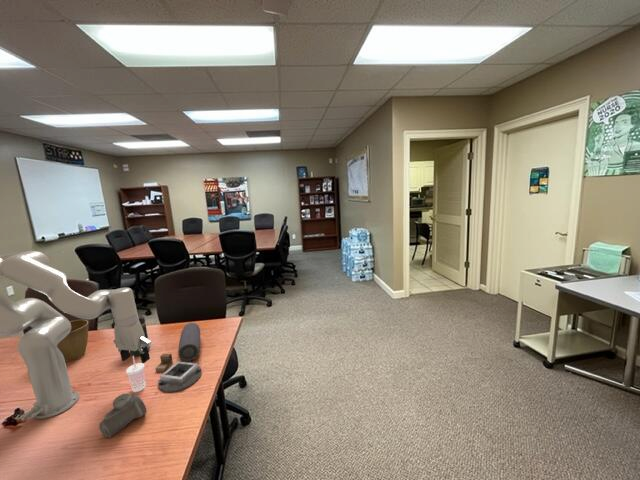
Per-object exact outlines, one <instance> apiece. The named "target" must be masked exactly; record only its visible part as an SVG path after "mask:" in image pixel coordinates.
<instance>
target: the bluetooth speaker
mask: <svg viewBox="0 0 640 480" xmlns="http://www.w3.org/2000/svg"><path fill="white" fill-rule="evenodd" d="M201 338H202V337H201V328H200V326H199V324H197V323H196V322H189V323H187V324H185V325H184V327H182V330H181V333H180V337H179V342H178V349H177V351H178V352H177V353H178V358H179V359H180V360H181V361H182V362H190V361H193V360H194V359H196V358H197V356H198V354H199V352H200V346H201Z"/></svg>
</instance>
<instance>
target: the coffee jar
mask: <svg viewBox="0 0 640 480" xmlns="http://www.w3.org/2000/svg"><path fill="white" fill-rule="evenodd" d="M138 318H139V321H140V323H141V326H142V328H143V331H144V334H145V338H146V339H147V340H149V336H148V329H147V324H146V319H145V317H144V316H143V315H141V314H138ZM141 348H142V350H143V349H144V347H141ZM150 349H151V347H150V348H149V350H148V352H149V351H150ZM129 352H130V355H131V356H134V357H135V356H140V354H141V353H140V352H139V350H138V349H137V350H136V351H130V350H129Z"/></svg>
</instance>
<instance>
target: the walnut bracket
mask: <svg viewBox="0 0 640 480" xmlns="http://www.w3.org/2000/svg"><path fill="white" fill-rule="evenodd" d="M172 355H173V354H172V353H162V354H161V355H160V356H159V357H160V363H159V364H158V365H157V366H156V367H155V373H165V372H166V371H167V370H168V369H169V368H171V367H172V366H173V365H174V361H173V356H172Z"/></svg>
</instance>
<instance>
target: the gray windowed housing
mask: <svg viewBox="0 0 640 480" xmlns="http://www.w3.org/2000/svg"><path fill="white" fill-rule="evenodd" d="M201 376H202V367H201V366H199V364H198V363H194V362H189V361H178V360H177V362H175V363H173V364H172V365H171V366H170V367H169V368H168V369H167V370H166V371H165V372H162V374H161V375H160V376H159V378H160V379H159V380H158V381H157V384H158V389H159V390H160V391H162V392H164V393H176V392H179V391H182V390H185V389H187V388H190V387H192V386H193V385H194V384H196V382H198V381H199V380H200V378H201Z"/></svg>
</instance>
